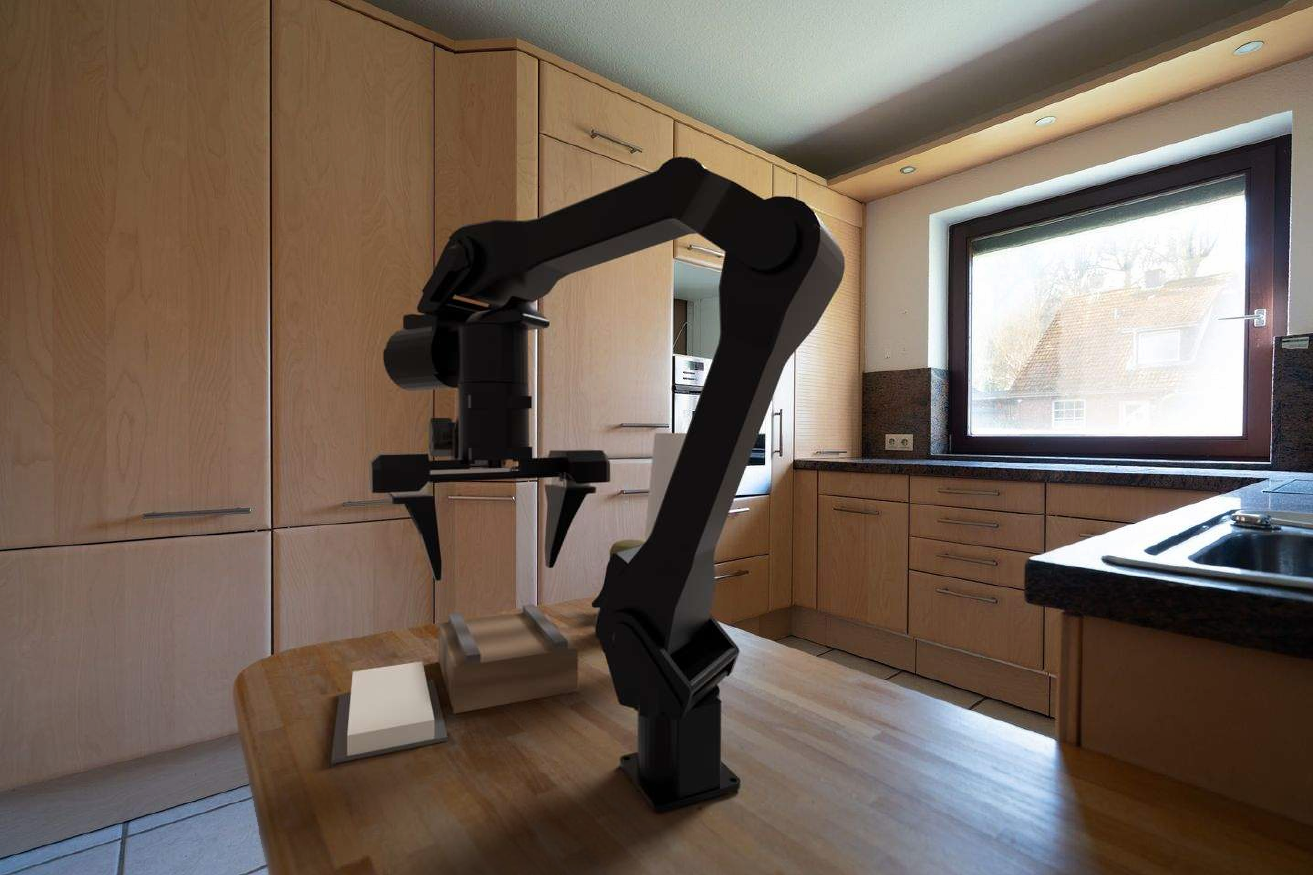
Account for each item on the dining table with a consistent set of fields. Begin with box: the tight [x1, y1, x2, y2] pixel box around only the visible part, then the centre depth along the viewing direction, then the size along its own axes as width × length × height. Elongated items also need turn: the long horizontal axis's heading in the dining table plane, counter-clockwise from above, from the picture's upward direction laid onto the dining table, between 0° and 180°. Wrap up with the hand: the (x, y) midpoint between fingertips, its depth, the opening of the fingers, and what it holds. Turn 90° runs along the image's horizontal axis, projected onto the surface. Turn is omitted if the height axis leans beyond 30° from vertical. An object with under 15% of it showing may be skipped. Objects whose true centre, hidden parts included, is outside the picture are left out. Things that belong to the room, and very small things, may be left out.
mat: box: [330, 679, 449, 765], centre depth 51 cm, size 12×8×1 cm, turn 25°
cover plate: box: [347, 661, 434, 756], centre depth 51 cm, size 13×6×2 cm, turn 25°
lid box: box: [438, 603, 579, 714], centre depth 60 cm, size 13×11×5 cm
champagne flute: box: [644, 432, 687, 542], centre depth 65 cm, size 7×7×24 cm
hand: (495, 573), depth 50 cm, fingers open, 9 cm apart
